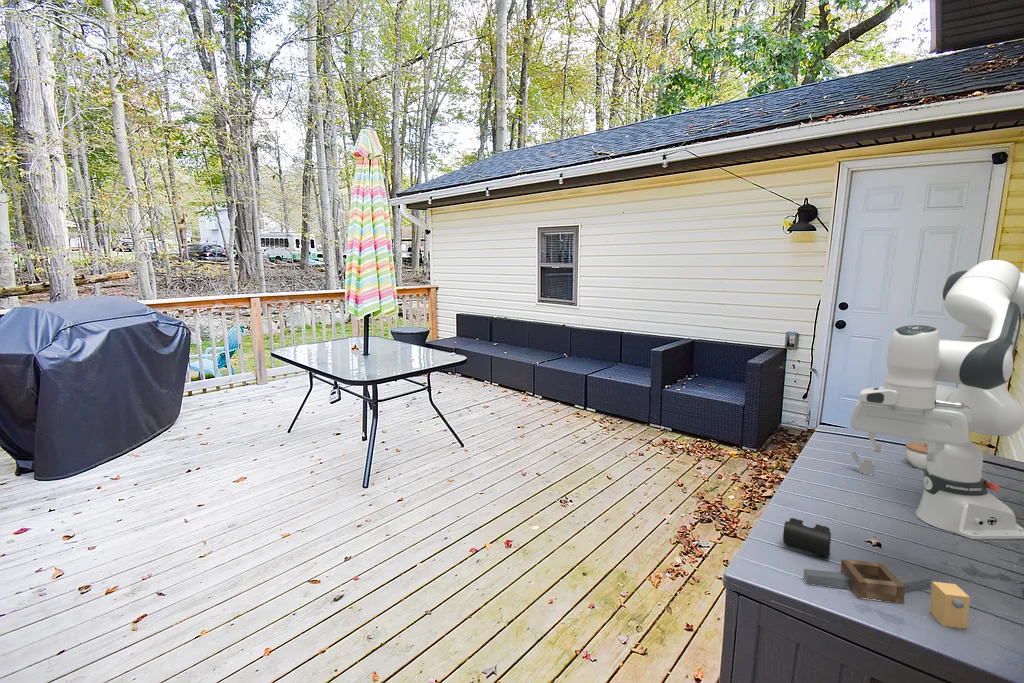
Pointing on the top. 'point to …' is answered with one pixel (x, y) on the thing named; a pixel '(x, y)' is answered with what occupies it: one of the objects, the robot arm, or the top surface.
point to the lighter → (863, 464)
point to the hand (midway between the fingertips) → (903, 455)
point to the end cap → (807, 537)
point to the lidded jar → (917, 454)
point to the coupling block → (949, 604)
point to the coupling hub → (873, 581)
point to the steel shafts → (844, 580)
